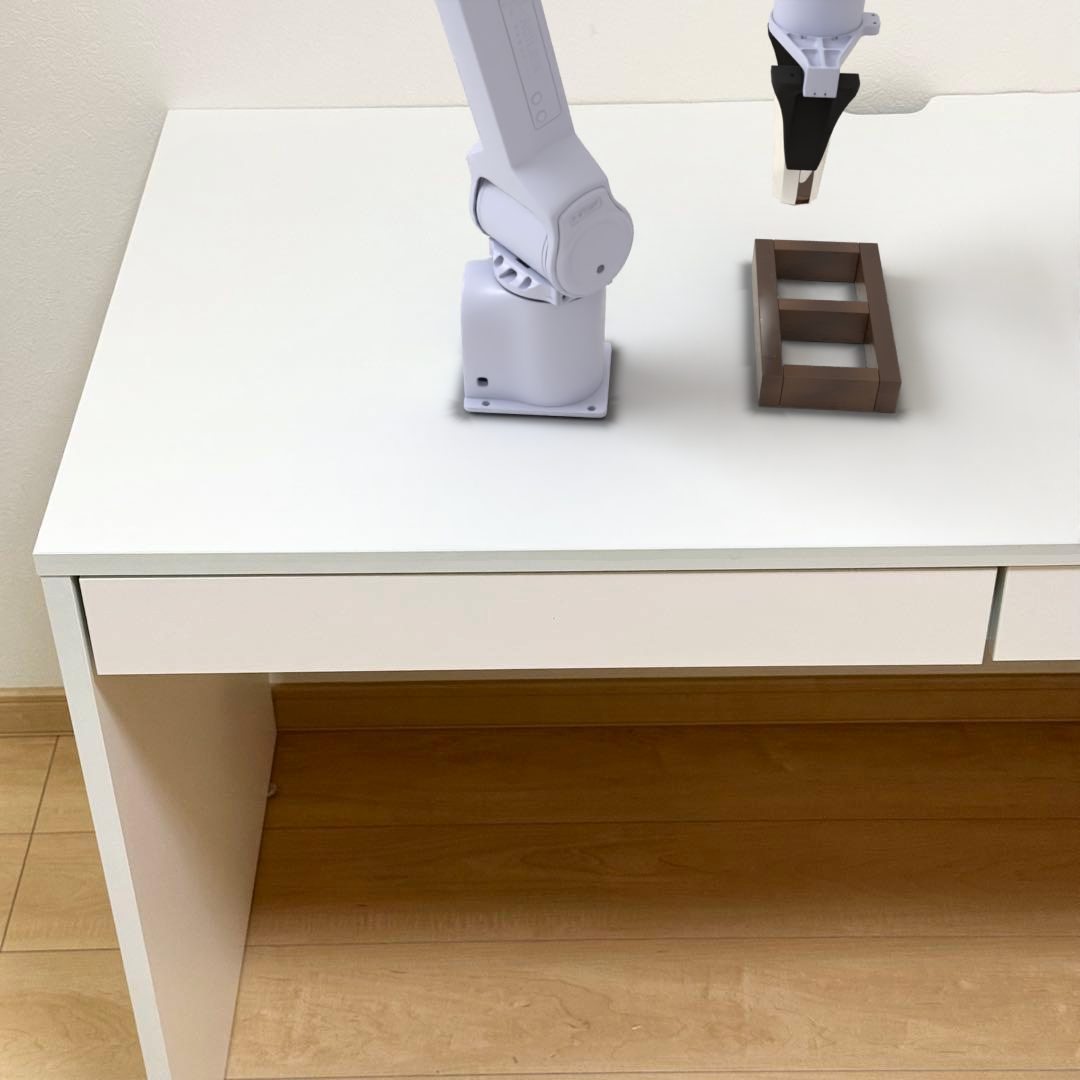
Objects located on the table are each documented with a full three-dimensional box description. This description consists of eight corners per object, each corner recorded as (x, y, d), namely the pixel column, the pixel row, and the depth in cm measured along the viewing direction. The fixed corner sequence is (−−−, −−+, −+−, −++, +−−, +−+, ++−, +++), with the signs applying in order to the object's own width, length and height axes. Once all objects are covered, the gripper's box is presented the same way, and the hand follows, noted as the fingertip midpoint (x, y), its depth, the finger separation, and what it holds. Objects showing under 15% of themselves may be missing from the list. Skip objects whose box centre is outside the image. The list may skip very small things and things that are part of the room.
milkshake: (824, 173, 98) (845, 39, 91) (828, 212, 94) (849, 75, 87) (761, 170, 99) (777, 36, 92) (762, 209, 95) (778, 72, 88)
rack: (758, 406, 90) (762, 375, 89) (751, 268, 102) (754, 238, 100) (895, 413, 90) (902, 381, 88) (872, 272, 102) (877, 242, 100)
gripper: (903, -2, 79) (866, 204, 89) (881, -94, 89) (850, 100, 99) (781, -6, 80) (757, 200, 89) (773, -96, 90) (752, 97, 99)
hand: (799, 147), depth 94 cm, fingers closed on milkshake, 5 cm apart
